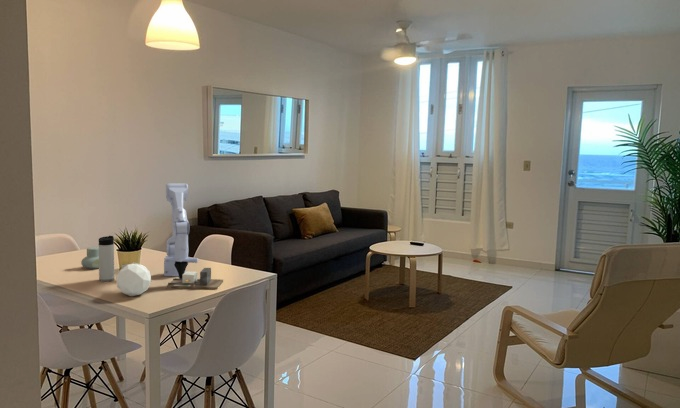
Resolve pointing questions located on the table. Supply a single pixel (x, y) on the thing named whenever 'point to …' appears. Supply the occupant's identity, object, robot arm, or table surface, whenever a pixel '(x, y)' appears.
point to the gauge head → (189, 277)
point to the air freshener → (91, 258)
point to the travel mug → (106, 259)
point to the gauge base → (197, 282)
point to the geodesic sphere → (133, 279)
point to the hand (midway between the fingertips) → (181, 278)
